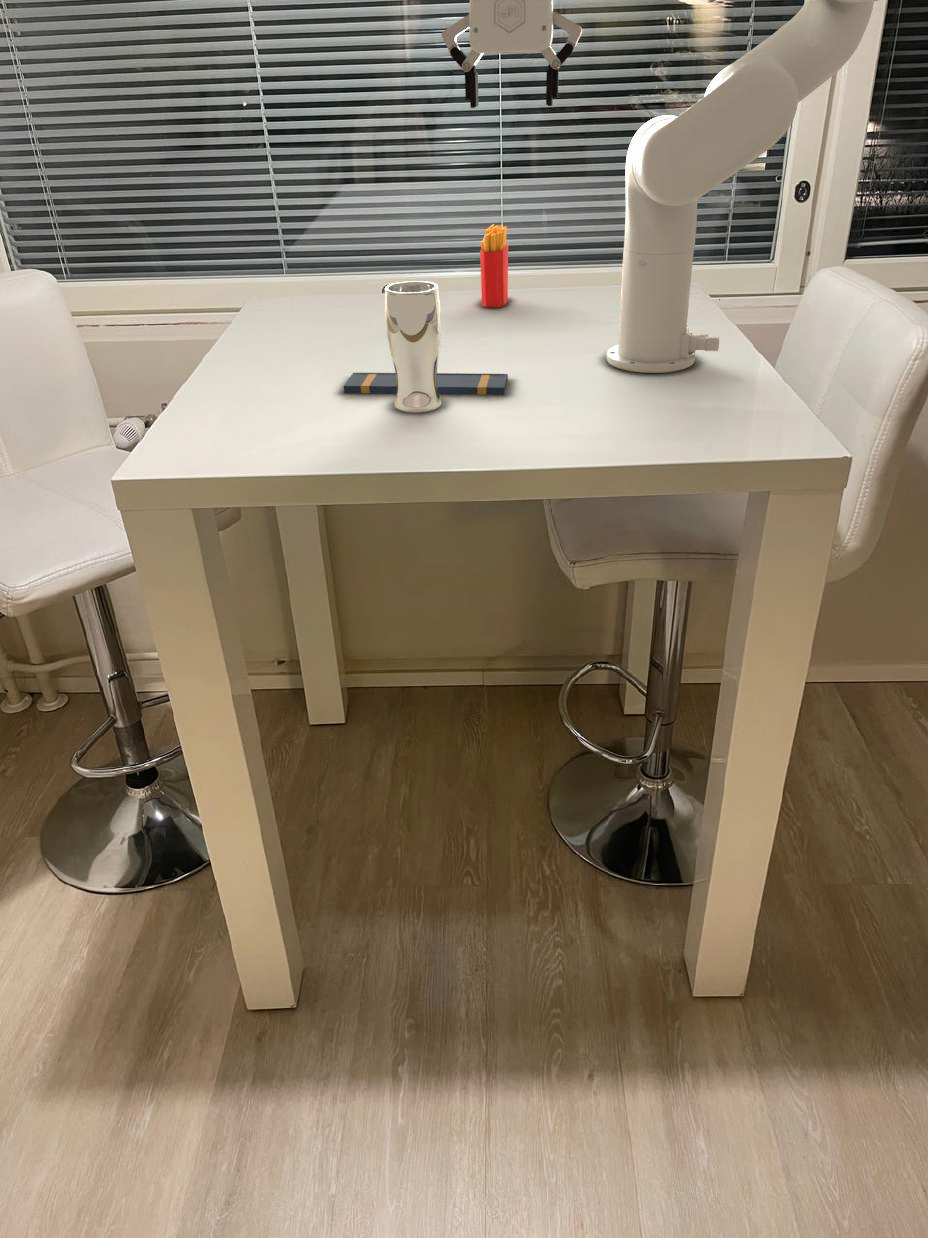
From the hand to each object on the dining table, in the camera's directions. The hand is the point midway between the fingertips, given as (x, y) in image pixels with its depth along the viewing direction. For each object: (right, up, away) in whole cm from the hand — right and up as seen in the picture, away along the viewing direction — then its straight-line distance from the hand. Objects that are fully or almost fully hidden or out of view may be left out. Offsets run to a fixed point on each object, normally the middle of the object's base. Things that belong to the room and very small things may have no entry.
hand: (511, 105), depth 121 cm
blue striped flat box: (-11, -34, +10) cm, 37 cm away
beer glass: (-12, -38, +3) cm, 40 cm away
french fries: (-1, -9, +50) cm, 50 cm away
